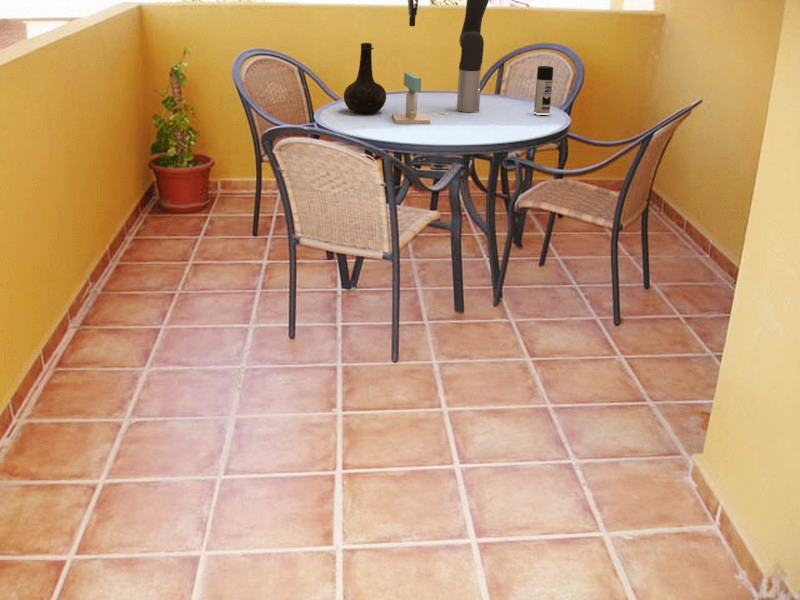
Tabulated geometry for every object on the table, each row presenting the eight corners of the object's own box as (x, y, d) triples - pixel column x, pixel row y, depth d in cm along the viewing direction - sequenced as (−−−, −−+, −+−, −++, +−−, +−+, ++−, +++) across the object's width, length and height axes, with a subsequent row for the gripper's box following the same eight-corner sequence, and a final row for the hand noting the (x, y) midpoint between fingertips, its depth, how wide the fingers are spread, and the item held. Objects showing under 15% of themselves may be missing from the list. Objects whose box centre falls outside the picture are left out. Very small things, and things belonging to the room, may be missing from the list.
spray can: (542, 116, 358) (546, 68, 350) (530, 114, 362) (534, 66, 354) (552, 115, 362) (557, 67, 354) (540, 112, 366) (545, 65, 358)
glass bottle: (346, 116, 345) (347, 45, 334) (341, 108, 361) (341, 40, 350) (389, 116, 349) (391, 46, 338) (382, 107, 365) (383, 40, 354)
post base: (425, 117, 349) (426, 91, 345) (430, 124, 337) (431, 97, 332) (392, 116, 348) (392, 90, 344) (395, 123, 335) (396, 96, 331)
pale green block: (403, 90, 344) (404, 72, 341) (409, 90, 345) (410, 72, 342) (414, 96, 331) (414, 78, 328) (420, 96, 332) (421, 78, 329)
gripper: (402, -21, 342) (401, 24, 349) (406, -19, 330) (404, 27, 337) (421, -20, 343) (419, 24, 349) (425, -19, 331) (423, 28, 337)
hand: (412, 26), depth 343 cm, fingers closed
